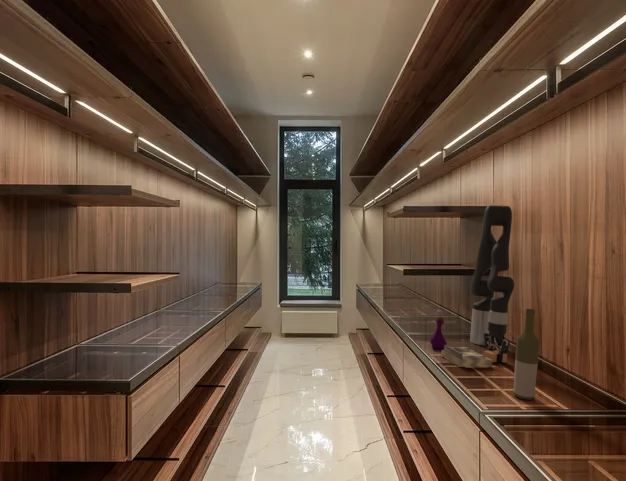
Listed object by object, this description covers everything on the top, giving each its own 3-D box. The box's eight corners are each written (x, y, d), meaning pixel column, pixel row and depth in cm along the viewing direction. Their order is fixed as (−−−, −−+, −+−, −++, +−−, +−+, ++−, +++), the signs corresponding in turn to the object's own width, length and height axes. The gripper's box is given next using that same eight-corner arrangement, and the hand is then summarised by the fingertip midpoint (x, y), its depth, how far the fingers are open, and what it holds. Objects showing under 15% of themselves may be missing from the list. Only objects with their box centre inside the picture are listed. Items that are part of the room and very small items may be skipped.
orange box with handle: (498, 359, 178) (499, 348, 177) (506, 363, 173) (507, 352, 173) (483, 359, 176) (483, 348, 176) (490, 363, 171) (491, 352, 171)
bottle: (526, 393, 139) (533, 307, 138) (540, 401, 132) (547, 312, 132) (507, 392, 138) (514, 307, 138) (520, 401, 131) (527, 311, 131)
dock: (470, 356, 179) (471, 344, 179) (491, 367, 166) (492, 354, 166) (441, 356, 176) (441, 344, 176) (459, 367, 162) (460, 354, 162)
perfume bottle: (446, 351, 185) (449, 312, 185) (429, 349, 187) (432, 311, 187) (444, 346, 193) (447, 309, 192) (428, 344, 194) (431, 308, 194)
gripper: (517, 325, 168) (513, 365, 168) (494, 318, 182) (491, 355, 182) (501, 325, 166) (498, 366, 166) (479, 317, 180) (476, 355, 180)
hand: (494, 360), depth 174 cm, fingers closed on orange box with handle, 5 cm apart
